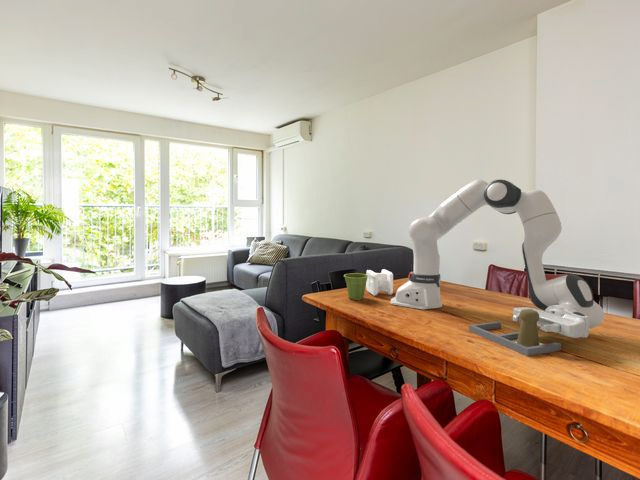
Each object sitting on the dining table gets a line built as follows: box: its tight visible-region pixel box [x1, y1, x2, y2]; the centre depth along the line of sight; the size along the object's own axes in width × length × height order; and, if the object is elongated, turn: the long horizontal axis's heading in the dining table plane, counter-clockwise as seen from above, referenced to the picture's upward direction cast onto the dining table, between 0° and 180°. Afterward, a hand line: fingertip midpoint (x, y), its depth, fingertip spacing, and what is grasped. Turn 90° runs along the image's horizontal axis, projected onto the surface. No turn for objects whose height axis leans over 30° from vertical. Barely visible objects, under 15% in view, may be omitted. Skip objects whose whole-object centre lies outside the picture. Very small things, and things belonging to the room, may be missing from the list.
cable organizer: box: [365, 268, 394, 297], centre depth 174 cm, size 15×11×12 cm
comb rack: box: [468, 320, 562, 357], centre depth 110 cm, size 13×23×2 cm, turn 19°
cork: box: [517, 309, 540, 347], centre depth 104 cm, size 6×6×11 cm
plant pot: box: [343, 272, 368, 301], centre depth 164 cm, size 12×12×11 cm
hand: (527, 323), depth 104 cm, fingers open, 8 cm apart
